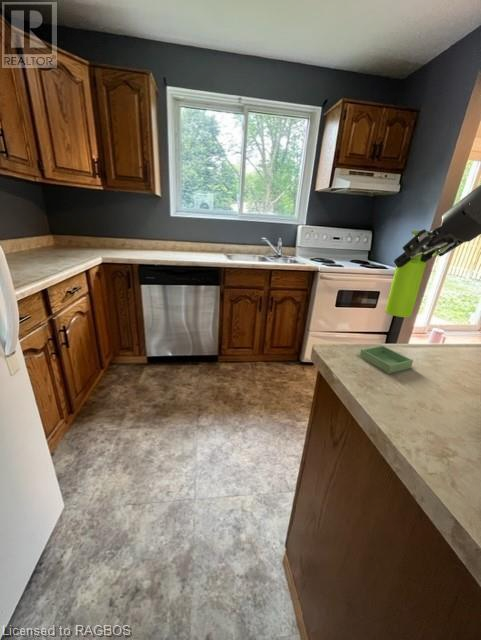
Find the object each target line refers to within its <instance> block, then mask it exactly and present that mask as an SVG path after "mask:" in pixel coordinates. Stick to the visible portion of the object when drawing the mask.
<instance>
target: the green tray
mask: <svg viewBox="0 0 481 640" xmlns="http://www.w3.org/2000/svg"><path fill="white" fill-rule="evenodd" d="M359 358H361V359H363V360H365V361H366V362H368V363H369V364H372V365H373V366H374V367H376V368H377V369H380V370H382V371H383V372H385V373H386V374H393V373H397V372H401V371H404V370H408V369H412V366H413V362H414V360H413V359H412V358H409V357H408V356H406V355H403V354H401V353H399V352H397V351H395V350H393V349H390V348H389V347H387V346H385V345H378V346H373V347H368V348H363V349H361V350H360V355H359Z"/></svg>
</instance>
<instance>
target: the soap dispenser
mask: <svg viewBox="0 0 481 640" xmlns="http://www.w3.org/2000/svg"><path fill="white" fill-rule="evenodd" d="M420 231H421V230H413V231H411V233H410V234H411V235H413V236H412V237H413V238H414V237H415V236H416V235H417V234H418V233H419V232H420ZM426 231H427V232H430V231H431V230H430V231H428V230H426ZM411 246H412V245H411ZM418 251H420V250H418ZM418 251H417V252H418ZM421 256H422V254H420V255H418V256H417V257H415V258H413V259H412V260H411V261H409V262H408V263H406V264H405V265H404V266H402V267H400V268H398V267H397V266H396V265H395V269H394V273H393V277H392V282H391V285H390V290H389V294H388V297H387V301H386V306H385V310H384V311H385V313H386V314H387V315H391V316H393V317H399V318H411V317H412V315H413V312H414V311H413V310H414V308H415V304H416V301H417V297H418V294H419V289H420V286H421V283H422V280H423V275H424V272H425V268H426V265H427V262H423V261H420V260H421Z"/></svg>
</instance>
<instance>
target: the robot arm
mask: <svg viewBox="0 0 481 640" xmlns="http://www.w3.org/2000/svg"><path fill="white" fill-rule="evenodd" d="M419 231H420V232H419V233H418V234H417V235H416V236H415V237H414V236H413V237H414V238H411V239H410V240H408V242H406V244H404V246H402V250H403V253H402V254H400V255H399V256H398V257H396V258H395V259H394V260H393V262H394V264H395V267H396V266H397V267H398V268H400V267H402V266H404V265H405V264H406V263H408V262H409V261H411V260H412V259H413V258H415V257H417V256H418V255H420V254H422V256H421V260H420V261H423V262H425V263H427V262H428V261H430V260H431V259H436V258H437V257H438V256H439V257H443V256H444V255H446V254H448V253H450V252H451V251H453V250H454V249H456V248H457V247H459V246H461V245H462V244H464V243H469V242H471V241H473V240H474V239H476V238H477V237H479V236H480V235H481V184H480V185H478V186H477V187H475V188H474V189H473V190H471V191H470V192H469V193H468V194H467V195H465V196H464V197H463V198H462V199H461V200H459V201H458V202H457V203H455V204H454V205H453V206H451V207H450V208H449V209H448V210H447V211H445V212H444V213H443V214H442V216H441V224H440V225H439V226H437V227H435V228H433V229H432V230H430V232H427V231H428V230H426V228H425V229H421V230H419ZM411 245H412V246H411ZM425 246H426V248H425ZM418 250H420V251H418ZM417 251H418V252H417Z"/></svg>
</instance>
